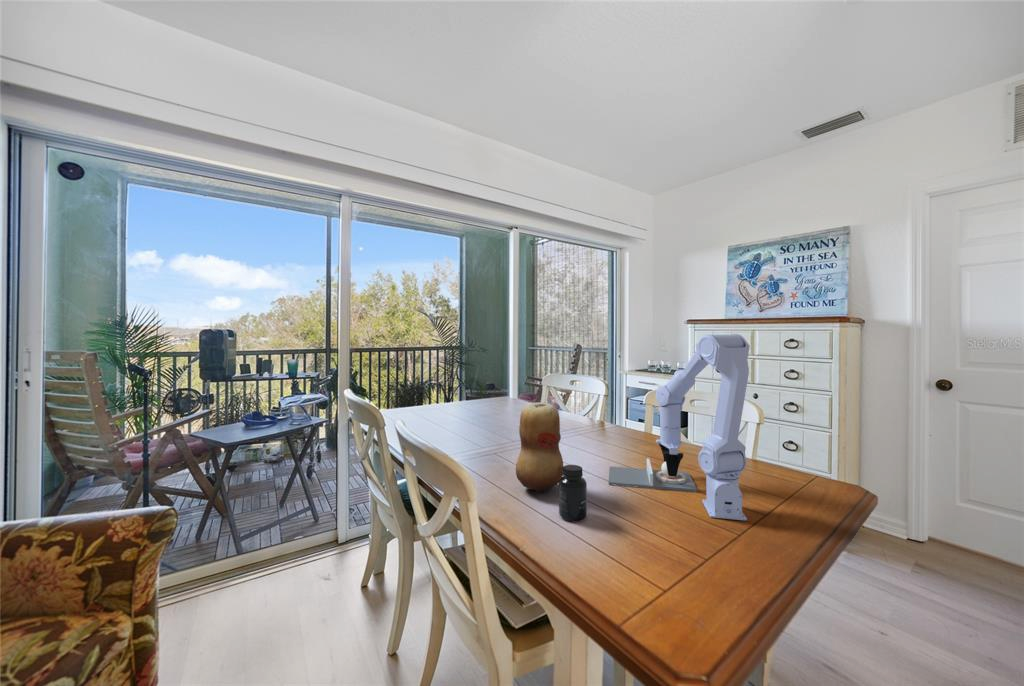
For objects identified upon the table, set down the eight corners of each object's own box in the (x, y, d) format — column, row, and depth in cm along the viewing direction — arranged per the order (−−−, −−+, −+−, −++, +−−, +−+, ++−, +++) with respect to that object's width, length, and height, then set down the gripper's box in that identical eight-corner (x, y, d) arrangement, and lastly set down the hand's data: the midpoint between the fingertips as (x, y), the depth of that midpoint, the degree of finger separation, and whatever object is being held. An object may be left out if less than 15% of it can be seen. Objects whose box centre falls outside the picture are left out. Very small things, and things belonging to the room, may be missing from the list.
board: (697, 492, 107) (697, 477, 107) (608, 484, 114) (608, 470, 113) (688, 474, 121) (688, 461, 120) (609, 468, 127) (609, 456, 127)
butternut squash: (524, 502, 103) (523, 409, 102) (510, 484, 115) (509, 401, 115) (572, 495, 106) (570, 405, 106) (553, 478, 119) (552, 398, 119)
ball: (681, 479, 112) (680, 461, 113) (662, 478, 114) (662, 460, 115) (678, 477, 117) (677, 460, 118) (660, 476, 118) (660, 459, 119)
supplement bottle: (589, 522, 91) (588, 472, 91) (560, 522, 91) (559, 472, 91) (584, 509, 98) (583, 462, 98) (557, 509, 98) (557, 463, 98)
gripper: (653, 420, 123) (654, 462, 123) (658, 431, 109) (659, 479, 109) (677, 421, 121) (678, 464, 122) (685, 432, 107) (685, 481, 108)
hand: (670, 471), depth 115 cm, fingers open, 7 cm apart
